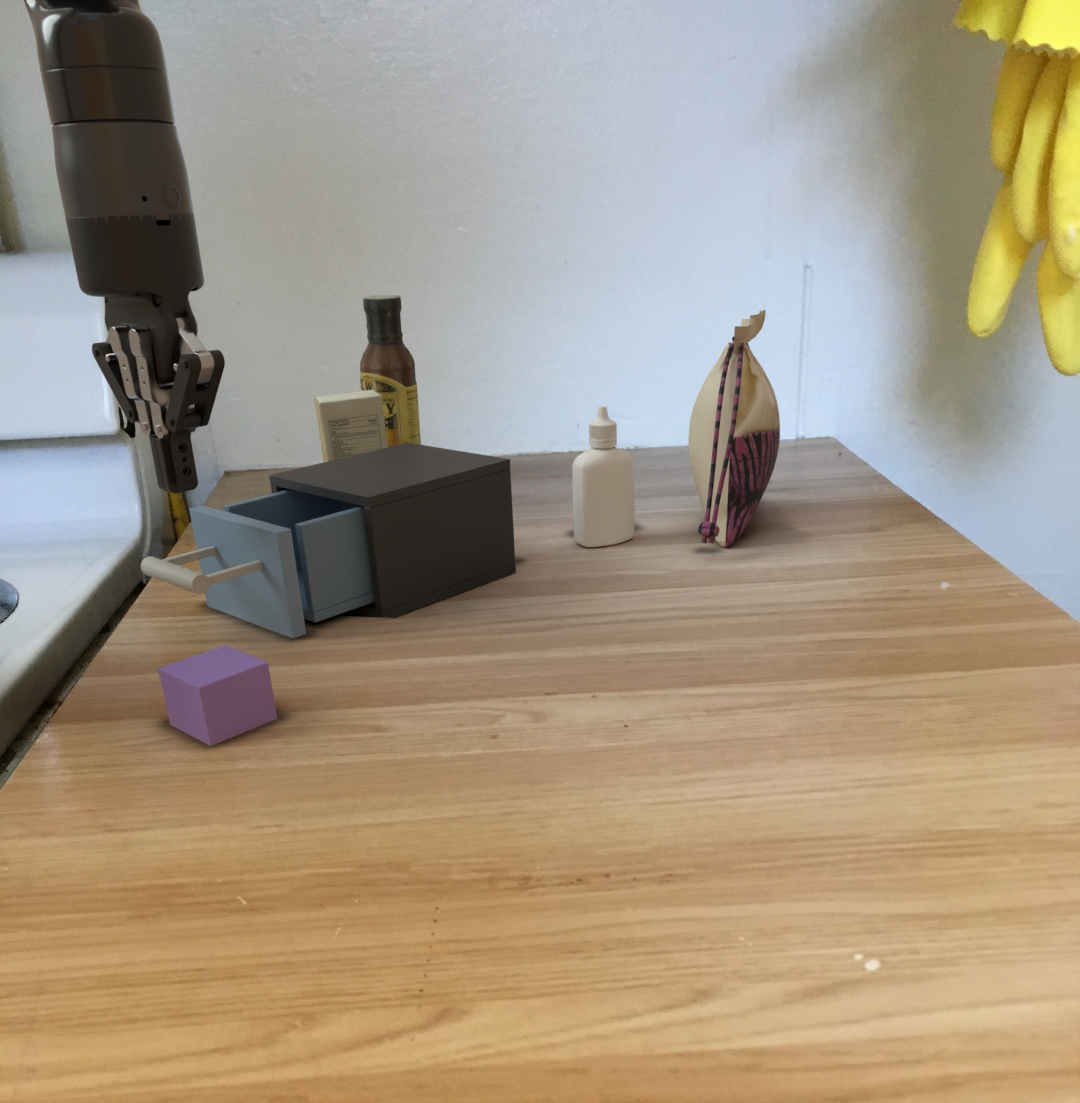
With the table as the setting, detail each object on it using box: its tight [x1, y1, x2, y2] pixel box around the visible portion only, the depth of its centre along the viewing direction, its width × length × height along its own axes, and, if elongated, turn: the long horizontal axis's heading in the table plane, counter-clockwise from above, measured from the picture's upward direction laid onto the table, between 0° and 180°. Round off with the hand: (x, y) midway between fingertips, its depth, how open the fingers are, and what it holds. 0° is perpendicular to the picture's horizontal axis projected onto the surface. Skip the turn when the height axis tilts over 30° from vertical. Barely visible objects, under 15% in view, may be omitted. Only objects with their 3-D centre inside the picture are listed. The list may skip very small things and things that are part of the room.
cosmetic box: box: [313, 390, 388, 463], centre depth 106 cm, size 6×4×12 cm
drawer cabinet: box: [268, 443, 517, 619], centre depth 87 cm, size 15×13×10 cm
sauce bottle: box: [359, 294, 422, 447], centre depth 118 cm, size 6×6×20 cm
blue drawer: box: [140, 489, 375, 640], centre depth 80 cm, size 19×11×8 cm, turn 137°
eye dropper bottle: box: [571, 405, 636, 548], centre depth 95 cm, size 4×6×12 cm
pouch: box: [688, 309, 781, 548], centre depth 97 cm, size 25×8×19 cm, turn 168°
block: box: [157, 644, 278, 747], centre depth 63 cm, size 5×5×5 cm
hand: (179, 489), depth 73 cm, fingers closed
